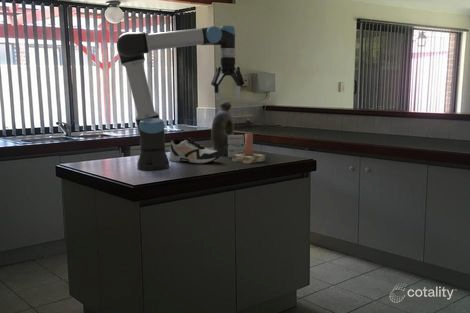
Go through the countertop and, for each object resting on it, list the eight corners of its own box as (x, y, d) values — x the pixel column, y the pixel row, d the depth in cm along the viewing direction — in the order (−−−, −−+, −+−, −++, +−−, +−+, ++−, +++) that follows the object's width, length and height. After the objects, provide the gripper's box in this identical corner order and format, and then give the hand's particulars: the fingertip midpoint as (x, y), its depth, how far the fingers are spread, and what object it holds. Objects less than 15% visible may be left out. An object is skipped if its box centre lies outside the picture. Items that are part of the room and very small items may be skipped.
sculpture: (238, 152, 275) (238, 100, 270) (221, 155, 264) (221, 101, 260) (224, 151, 282) (223, 100, 278) (207, 153, 272) (206, 100, 267)
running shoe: (213, 165, 236) (213, 141, 234) (162, 161, 248) (162, 139, 246) (223, 162, 245) (223, 139, 244) (174, 158, 258) (173, 136, 256)
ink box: (244, 155, 264) (244, 134, 262) (243, 157, 259) (243, 135, 257) (228, 155, 264) (228, 134, 263) (227, 157, 260) (227, 135, 258)
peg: (248, 161, 245) (248, 134, 243) (243, 160, 248) (243, 133, 246) (254, 160, 247) (254, 133, 245) (249, 159, 250) (249, 133, 248)
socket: (247, 163, 239) (247, 157, 239) (232, 160, 248) (232, 154, 248) (265, 160, 247) (265, 155, 246) (249, 158, 256) (249, 152, 255)
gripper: (212, 56, 233) (213, 99, 236) (251, 57, 249) (251, 98, 252) (203, 56, 239) (204, 99, 242) (241, 57, 254) (242, 98, 258)
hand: (228, 99), depth 247 cm, fingers open, 13 cm apart
